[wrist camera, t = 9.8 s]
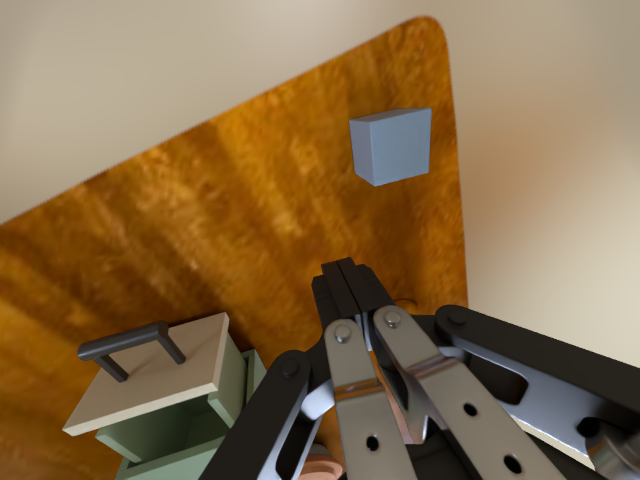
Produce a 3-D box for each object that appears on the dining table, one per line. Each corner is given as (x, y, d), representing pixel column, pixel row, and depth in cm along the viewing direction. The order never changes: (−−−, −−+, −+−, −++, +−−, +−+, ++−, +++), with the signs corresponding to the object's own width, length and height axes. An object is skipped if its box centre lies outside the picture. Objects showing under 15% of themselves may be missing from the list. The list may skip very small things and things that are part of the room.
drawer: (84, 310, 22) (6, 396, 15) (206, 276, 23) (182, 344, 16) (186, 414, 32) (166, 493, 26) (267, 387, 33) (269, 457, 27)
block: (348, 120, 20) (369, 121, 16) (399, 108, 20) (432, 107, 16) (354, 173, 22) (374, 186, 18) (400, 162, 23) (429, 172, 19)
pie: (260, 446, 42) (260, 484, 38) (342, 430, 46) (351, 463, 42) (259, 483, 49) (259, 518, 45) (331, 467, 53) (337, 498, 49)
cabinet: (155, 379, 29) (112, 483, 21) (255, 348, 30) (251, 436, 22) (211, 436, 38) (196, 527, 29) (287, 410, 39) (294, 491, 31)
